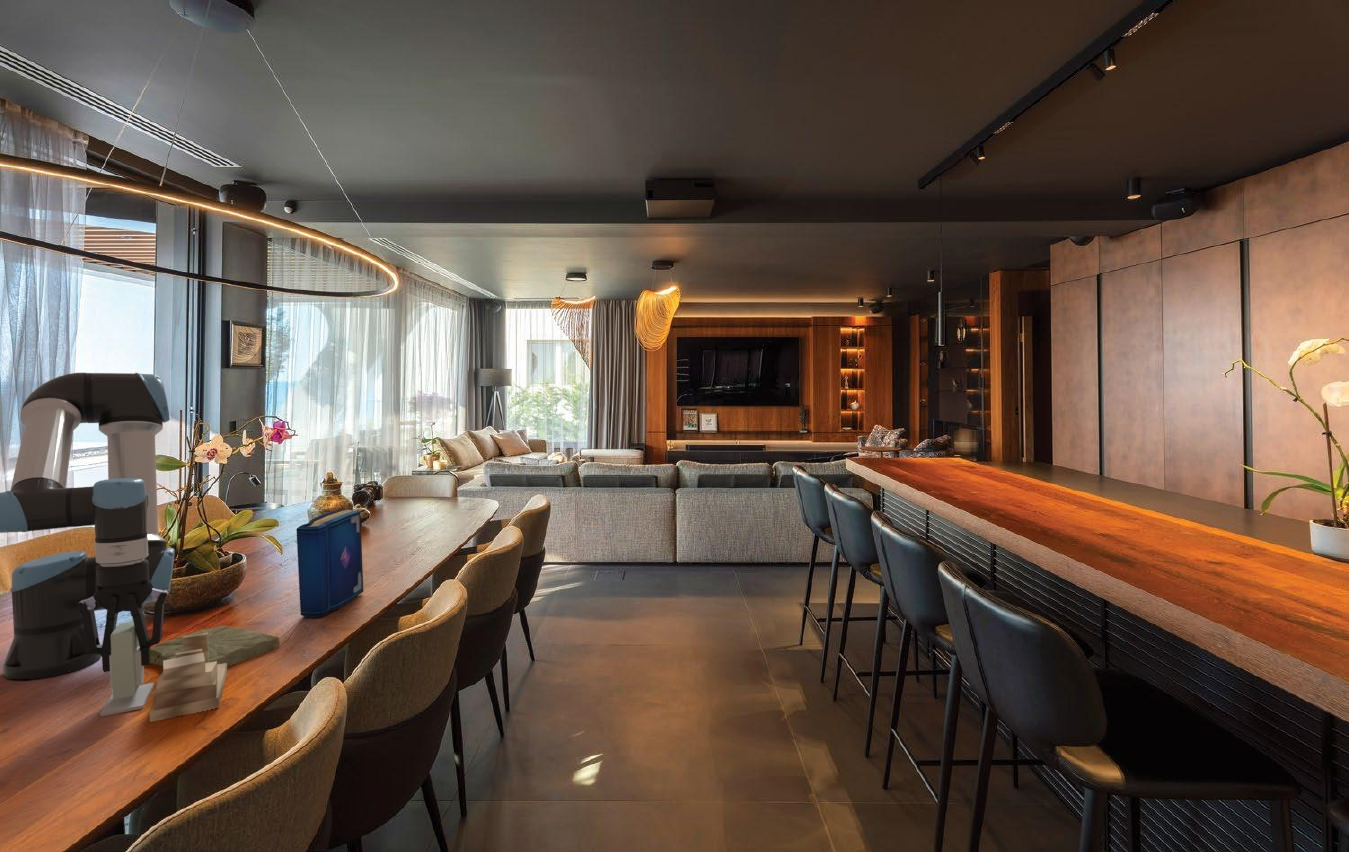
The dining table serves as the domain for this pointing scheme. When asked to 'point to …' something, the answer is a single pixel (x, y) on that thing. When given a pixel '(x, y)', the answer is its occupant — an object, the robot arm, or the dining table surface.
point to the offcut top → (183, 666)
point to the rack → (191, 647)
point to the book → (329, 562)
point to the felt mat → (128, 701)
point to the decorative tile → (221, 645)
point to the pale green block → (124, 660)
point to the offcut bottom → (184, 696)
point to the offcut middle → (189, 679)
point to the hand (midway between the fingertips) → (127, 684)
